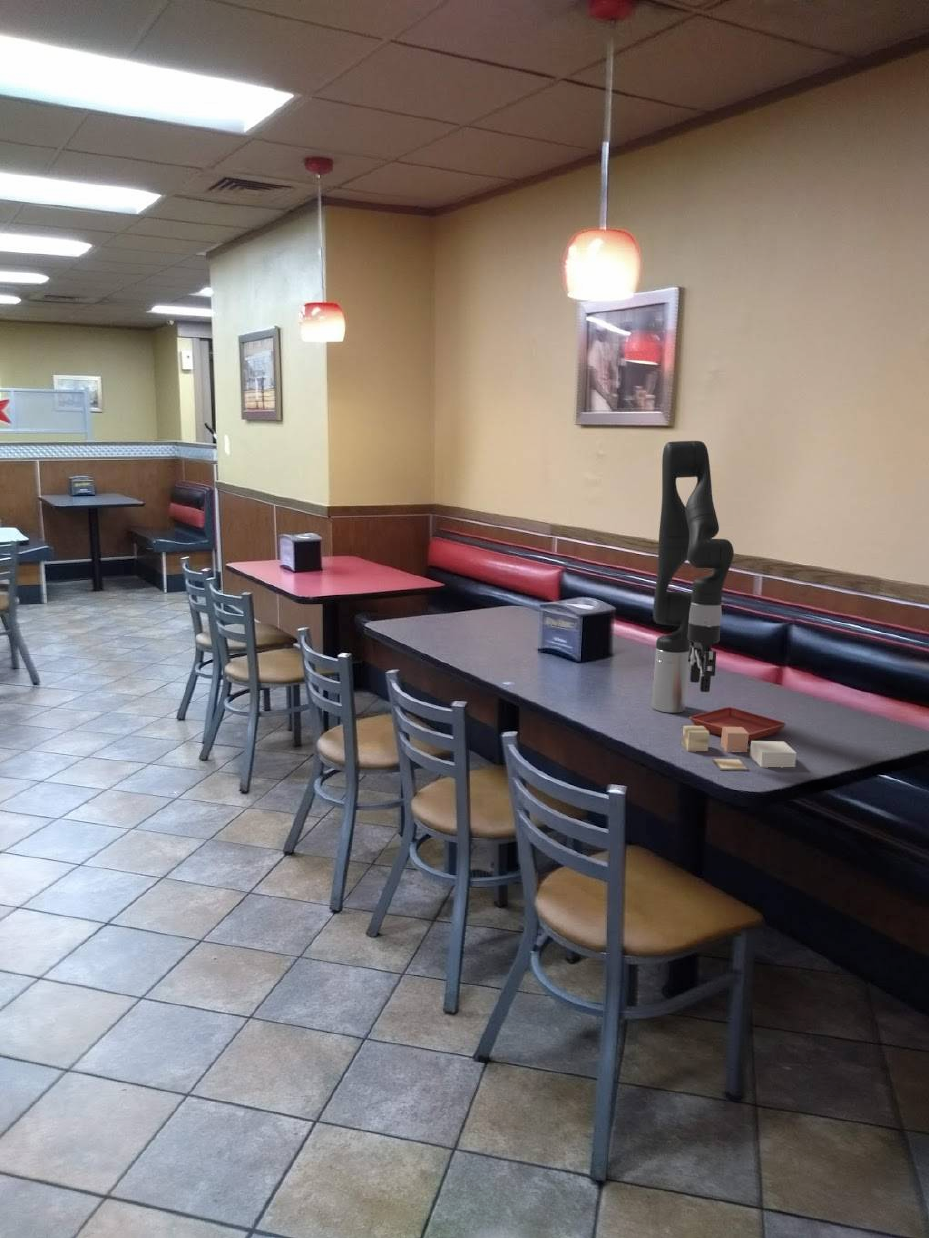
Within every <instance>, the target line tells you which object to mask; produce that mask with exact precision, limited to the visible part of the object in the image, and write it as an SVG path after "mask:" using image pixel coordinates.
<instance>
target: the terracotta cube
mask: <svg viewBox="0 0 929 1238" xmlns="http://www.w3.org/2000/svg"><path fill="white" fill-rule="evenodd" d="M748 736H749V733H748V732H747V731H746V730H745V729H744V728H743V727H722V736H720V738H721V739H720V747H723V748H724V749H723V748H722V749H723V750H724V751H725V752H726V751H741V752H747V753H748V746H749V742H748Z"/></svg>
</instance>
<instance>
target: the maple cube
mask: <svg viewBox="0 0 929 1238" xmlns="http://www.w3.org/2000/svg"><path fill="white" fill-rule="evenodd" d="M709 741H710V732H709V731H708V730H707V729H706V728H705V727H704V726H695V725H683V730H682V741H681V745H682V747H683V748H684V749H685V750H686V751H687V752H696V751H708V752H709V744H710V743H709Z"/></svg>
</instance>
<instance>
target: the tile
mask: <svg viewBox="0 0 929 1238" xmlns="http://www.w3.org/2000/svg"><path fill="white" fill-rule="evenodd" d="M711 761H712V762H713V764H714V765H715V766H716V765H717V766H716V767H717V769H719V770H720V771H723V772H724V771H727V770H729V771H730V772H731V771H733V772H734V771H735V772H736V771H739V772H745V771H746V772H750V768H748V766H746V765H745V763H744V762H743V761H742V760H741V759H738V758H737V759H735V758H734V759H733V758H731V759H730V758H726V759H725V758H717V759H716V758H713V759H711ZM727 772H728V771H727Z"/></svg>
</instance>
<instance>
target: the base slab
mask: <svg viewBox="0 0 929 1238" xmlns="http://www.w3.org/2000/svg"><path fill="white" fill-rule="evenodd" d="M749 756H750V758H751V759H752V760H753V761H754V762H755V761H756V762H757V763H758V764H759V765H760V766H761V767H760V766H759V765H758V764H757V763H756V762H755V763H756V764H757V765H758V766H759V767H760V768H768V767H781V768H782V769H784V768H783V767H795V768H796V760H797V752H796V751H795V750H794V749H793V748H792V747H790V745H788V743H786V742H785V741H777V740H775V741H772V740H771V741H770V740H767V741H766V740H752V741H750V751H749ZM781 768H780V769H781Z"/></svg>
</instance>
